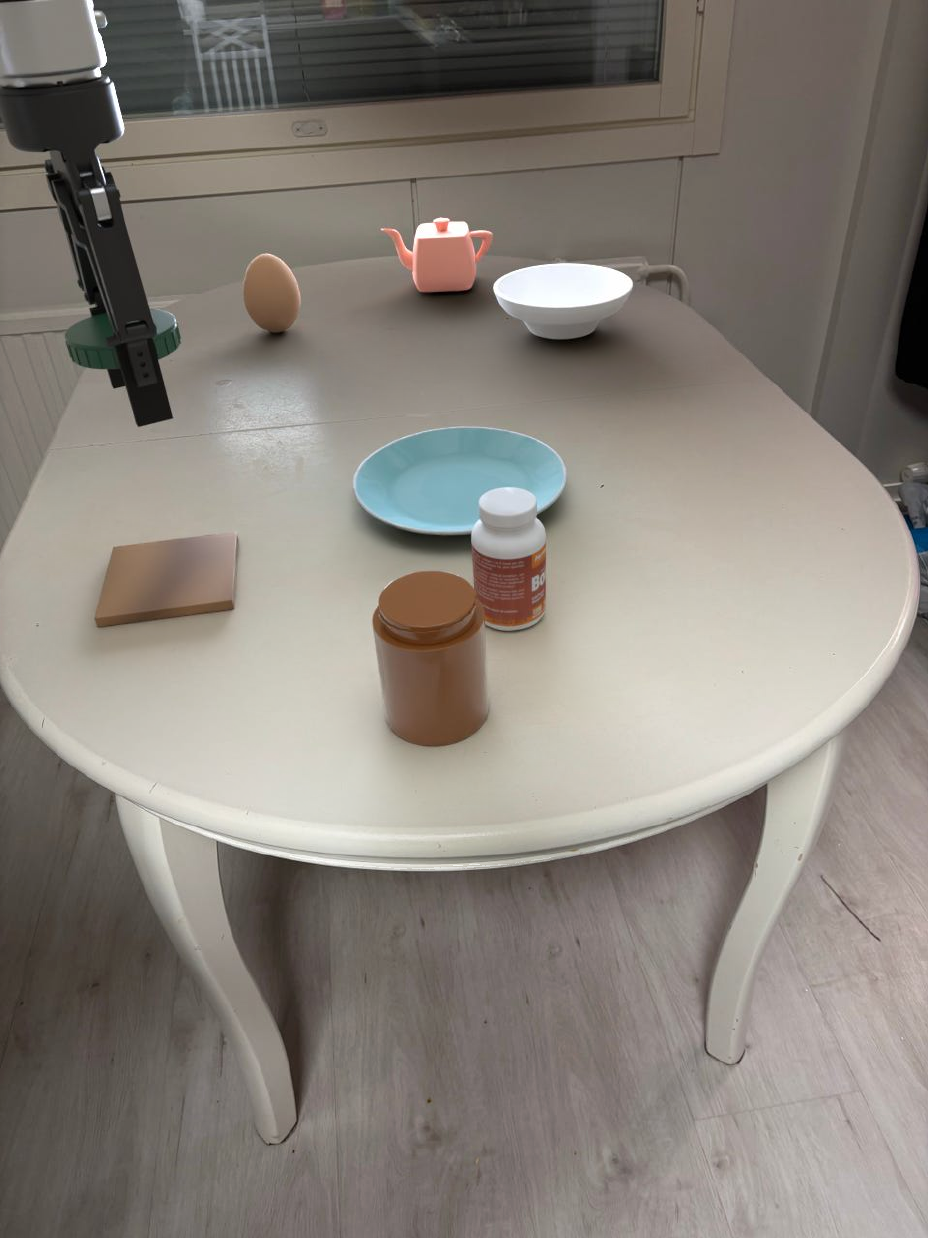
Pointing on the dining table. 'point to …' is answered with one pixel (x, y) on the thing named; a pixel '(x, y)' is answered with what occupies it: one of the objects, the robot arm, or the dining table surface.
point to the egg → (271, 293)
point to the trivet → (169, 579)
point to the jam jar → (432, 657)
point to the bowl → (563, 297)
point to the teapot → (442, 255)
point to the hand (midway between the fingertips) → (141, 401)
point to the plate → (453, 477)
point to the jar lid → (91, 333)
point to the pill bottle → (509, 559)
